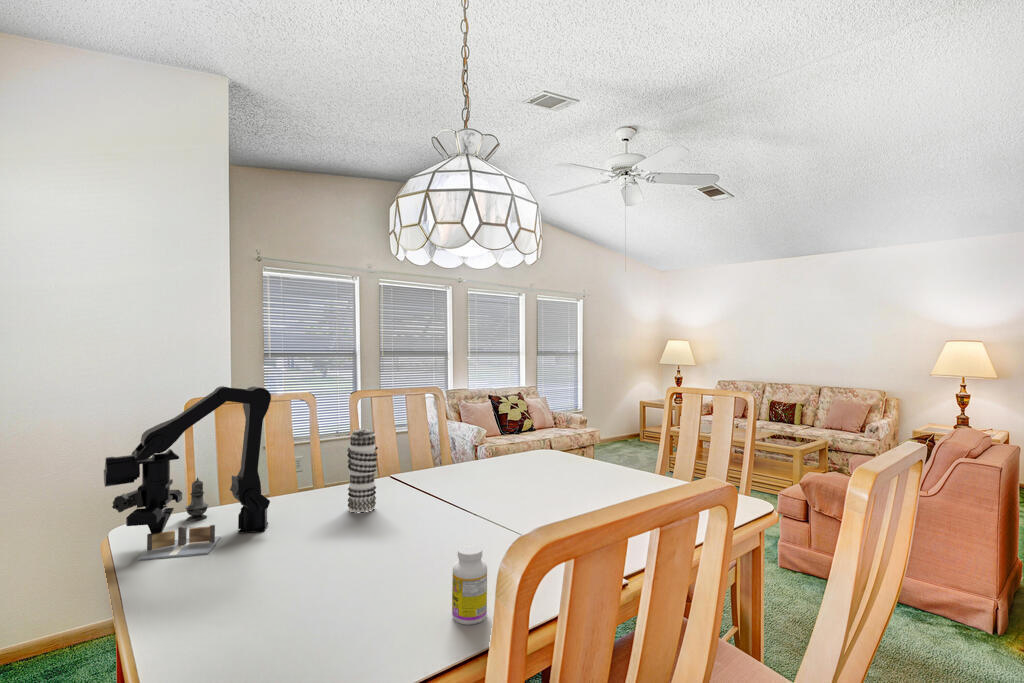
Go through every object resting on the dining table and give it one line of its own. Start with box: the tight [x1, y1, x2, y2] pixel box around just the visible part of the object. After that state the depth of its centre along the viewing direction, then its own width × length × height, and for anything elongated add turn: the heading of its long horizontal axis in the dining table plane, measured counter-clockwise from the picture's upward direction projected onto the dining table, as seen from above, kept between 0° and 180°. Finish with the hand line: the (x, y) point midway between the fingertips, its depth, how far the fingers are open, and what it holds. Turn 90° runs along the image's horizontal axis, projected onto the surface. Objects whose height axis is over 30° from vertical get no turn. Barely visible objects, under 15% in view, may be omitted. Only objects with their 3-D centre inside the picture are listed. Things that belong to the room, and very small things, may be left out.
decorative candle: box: [347, 428, 379, 513], centre depth 163 cm, size 9×9×25 cm
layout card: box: [137, 535, 222, 561], centre depth 130 cm, size 15×11×1 cm
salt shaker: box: [185, 477, 209, 522], centre depth 153 cm, size 6×6×12 cm
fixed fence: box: [177, 524, 216, 546], centre depth 133 cm, size 8×2×5 cm, turn 106°
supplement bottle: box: [451, 544, 488, 626], centre depth 99 cm, size 7×7×13 cm
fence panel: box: [146, 529, 176, 551], centre depth 129 cm, size 6×1×4 cm, turn 132°
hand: (156, 540), depth 130 cm, fingers closed
